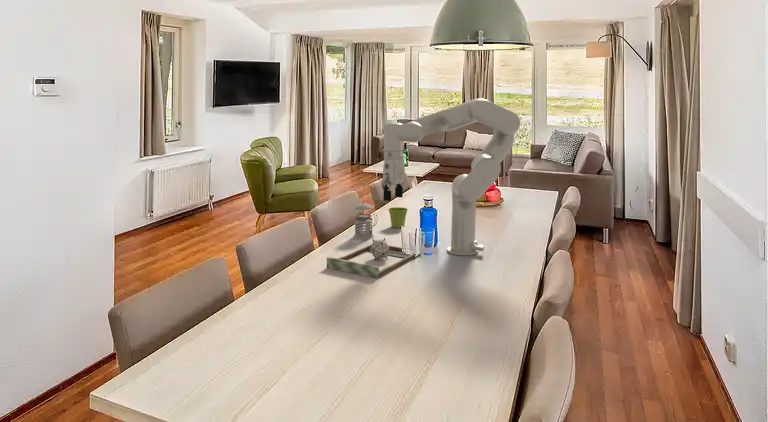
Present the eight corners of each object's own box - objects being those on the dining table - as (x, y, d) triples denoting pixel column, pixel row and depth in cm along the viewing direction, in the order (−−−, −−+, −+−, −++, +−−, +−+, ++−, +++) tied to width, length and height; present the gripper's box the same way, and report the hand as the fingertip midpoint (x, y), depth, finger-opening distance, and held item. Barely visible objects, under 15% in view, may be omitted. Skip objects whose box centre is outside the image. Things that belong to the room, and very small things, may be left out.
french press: (360, 232, 246) (360, 179, 240) (382, 236, 240) (382, 181, 235) (348, 237, 237) (347, 182, 232) (370, 241, 232) (370, 184, 226)
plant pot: (386, 224, 261) (386, 207, 259) (404, 223, 263) (404, 206, 261) (390, 229, 252) (390, 211, 250) (409, 228, 254) (410, 210, 252)
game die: (383, 269, 207) (388, 254, 199) (363, 260, 208) (367, 245, 200) (391, 253, 213) (396, 237, 205) (371, 244, 214) (376, 228, 206)
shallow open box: (421, 254, 213) (421, 244, 212) (377, 278, 185) (377, 267, 185) (374, 246, 224) (374, 237, 223) (326, 267, 197) (326, 257, 196)
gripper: (390, 157, 198) (390, 203, 202) (412, 153, 212) (412, 196, 216) (373, 156, 202) (373, 201, 206) (396, 152, 216) (396, 194, 220)
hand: (393, 198), depth 211 cm, fingers open, 8 cm apart
